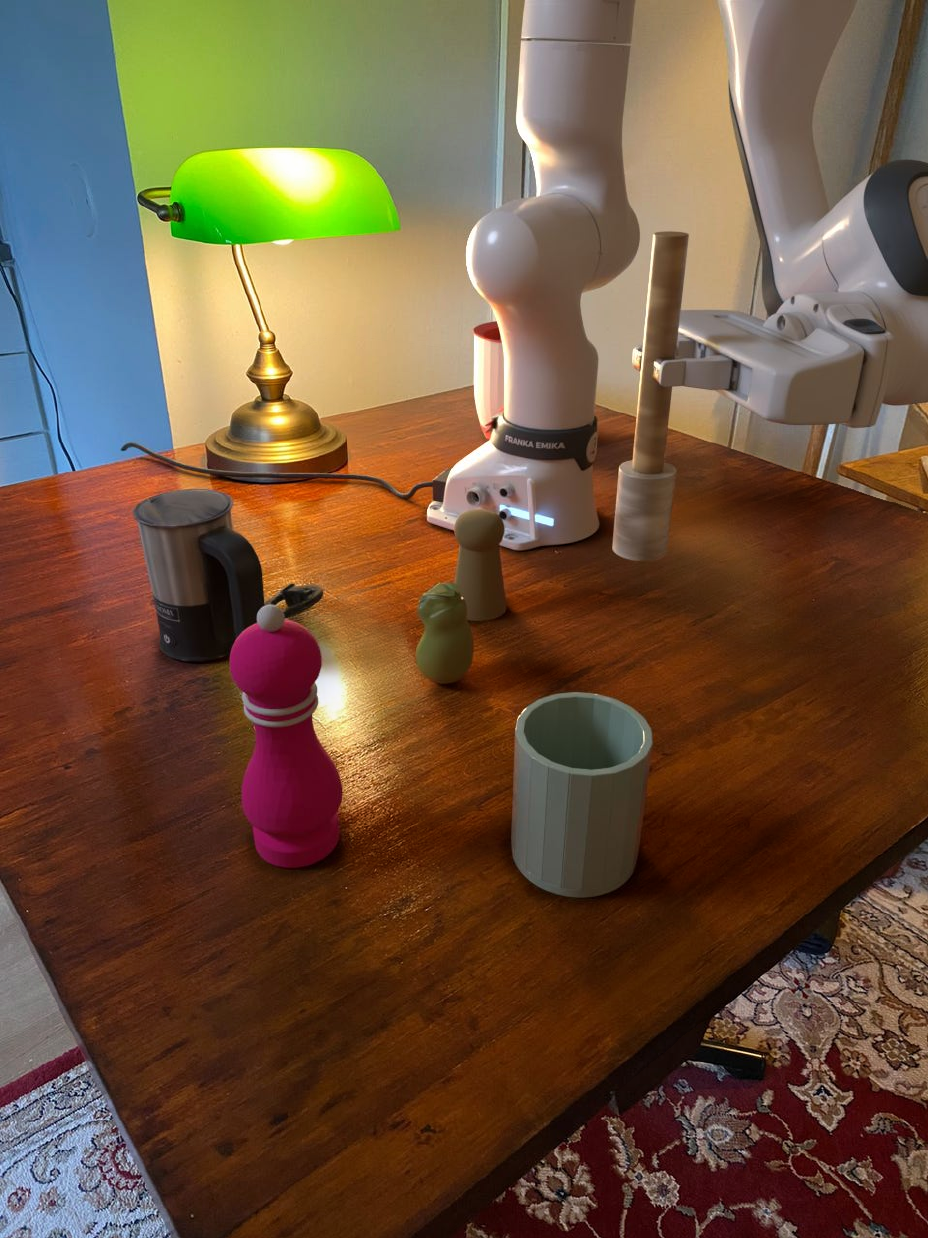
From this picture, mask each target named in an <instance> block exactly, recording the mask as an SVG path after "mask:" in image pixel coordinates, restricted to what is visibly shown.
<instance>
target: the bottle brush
mask: <svg viewBox="0 0 928 1238" xmlns="http://www.w3.org/2000/svg"><path fill="white" fill-rule="evenodd" d="M689 237H690V234H689V233H688V232H683V231H671V230H669V231H657V232H654V233H653V234H652V245H651V254H650V255H651V257H650V264H649V265H650V266H649V275H648V276H649V278H648V287H647V298H646V299H647V300H646V308H645V309H646V310H645V311H646V312H645V321H644V331H643V343H642V345H643V353H642V364H641V372H640V374H639V375H640V377H639V387H638V397H637V408H636V418H635V419H636V420H635V430H634V441H633V453H632V459H631V460H626V461H623V462H622V463H621V464H620V465H619V467H618V475H617V476H618V477H617V488H616V500H615V512H614V522H613V536H612V546H611V547H612V548H611V549H612V552H613V553H614V554H616V555H617V556H619V557H621V558H623V559H626V560H629V561H634V562H652V561H658V560H660V559H662V558H664V557H665V556H666V555H667V553H668V546H669V539H670V537H669V536H670V529H671V521H672V520H671V519H672V511H673V502H674V493H675V485H676V476H677V469H676V467H675V466H674V465H672V464H670V463H668V462H666V461H665V457H666V455H665V454H666V448H667V439H668V431H669V420H670V411H671V403H672V393H673V387H663V386H662V385H660V384H659V383H658V382H656V381H655V380H654V379H653V372H654V362H655V361H656V359H658V358H659V357H673V356H676V348H677V339H678V330H679V321H680V312H681V310H682V302H683V291H684V284H685V275H686V273H685V272H686V265H687V257H688V246H689V239H690V238H689Z"/></svg>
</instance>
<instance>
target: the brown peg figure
mask: <svg viewBox="0 0 928 1238" xmlns="http://www.w3.org/2000/svg"><path fill="white" fill-rule="evenodd" d="M504 529H505V527H504V523H503V521H502V519H501V517H500V516H499V515H498V514H497V513H495V512H492V511H490V510H485V509H474V510H469V511H466V512H464V513H462V514H461V515H459V517H458V518H457V520H456V522H455V526H454V530H453V531H454V536H455V539H456V541H457V543H458V544H459V546H458V553H457V560H456V569H455V576H454V582H453V583H454V584H456V585H457V586H458V587H459V589H460V596H461V597H464V599H465V602H466V606H467V621H472V622H487V621H492V620H496V619H497V618H499V617H502V616H503V615H504V614H505V613H506V610H507V601H506V600H507V599H506V593H505V585H504V584H505V583H504V577H503V568H502V559H501V552H500V551H501V550H500V545H499V544H500V543H501V541H502V539H503V535H504Z"/></svg>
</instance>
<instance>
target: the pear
mask: <svg viewBox="0 0 928 1238" xmlns="http://www.w3.org/2000/svg"><path fill="white" fill-rule="evenodd" d="M417 605H418V606H417V617H418V618H419V620H420V621H421V623H423V626H424V632H423V634H422V635H421V638H420V639H419V642H418V643H417V646H416V649H415V653H414V654H415V657H414V658H415V664H416V666H417V669H418V671H419V672H420V674H421V675H422V676H423V677H424V678H425V679H427V680H428V681H430V682H432V683H436V684H440V685H449V684H453V683H456V682H458V681H459V680H461V679H462V678H464V677H465V676H466V675H467V673H468V672H469V670H470V669H471V665H472V662H473V658H474V650H475V649H474V648H475V647H474V646H475V643H474V634H473V630H472V627H471V625H470V623H469V620H467V606H466V602H465V599H464V597H461V596H460V589H459V587H458V586H457V585H456V584H454V582H444V583H442V582H436V583H435V584H434V585H433V586H431V587H430V588H429V589H428V590H427V591H425V592H423V594H421V596H420V598H419V600H418V601H417Z"/></svg>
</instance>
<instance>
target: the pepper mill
mask: <svg viewBox="0 0 928 1238" xmlns="http://www.w3.org/2000/svg"><path fill="white" fill-rule="evenodd" d="M228 663H229V672H230V675H231V679H232V681H233V682H234V684H235V685H236V687H237V688H238V689H239V690H240V691H241V692H242V693H241V699H242V703H243V712H244V714H245V716H246V718H247V719H248V720H250V722H252V724H253V728H254V735H255V736H254V737H255V745H254V750H253V753H252V756H251V758H250V760H249V762H248V765H247V767H246V770H245V773H244V775H243V780H242V784H241V793H240V794H241V807H242V811H243V814H244V817H245V818H246V819H247V821H248V822H249V823H250V824H251V826H252V831H253V832H252V833H253V840H254V844H255V845H254V847H255V850H256V852H257V853H258V855H259V857H260V858H262V860H264V861H266V862H267V863H268V864H271V865H273V866H275V867H279V868H286V869H298V868H303V867H309V866H311V865H314V864H316V863H318V862H320V861H322V860H323V859H325V858H326V857H327V856H329V855H330V854H331V853H332V852H333V850H335V848H336V847H337V845H338V842H339V841H340V840H339V839H340V819H339V813H338V811H339V810H340V807H341V804H342V801H343V795H344V794H343V784H342V780H341V776H340V773H339V770H338V768H337V765H336V764H335V762H334V760H333V758H332V756H331V755H330V754H329V753H328V752H327V749H325V748H324V746H323V745H322V743H321V741H320V740H319V738H318V736H317V734H316V733H317V732H316V731H315V728H314V722H313V714H314V713H315V712H316V710H317V708H318V706H319V697H318V686H317V683H316V681H317V680H318V679H319V676H320V673H321V671H322V667H323V657H322V650H321V648H320V644H319V642H318V640H317V638H316V637H315V635H314V634H313V633H312V632H311V631H310V630H309V629H308V628H307V627H305V626H304V625H302V624H301V623H299V622H297V621H294V620H290V619H285V615H284V613H283V611H282V608H281V607H279V606H278V605H266V606H264V607H262V608H261V609H260V610H259V612H258V614H257V623H256V624H254V625H252V626H250V627H248V628H247V629H245V630H244V631H243V632H242V633H241V634H240V635H239V636H238V637H237V639H236V640H235V642H234V644H233V646H232V649H231V653H230V654H229V661H228Z"/></svg>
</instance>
